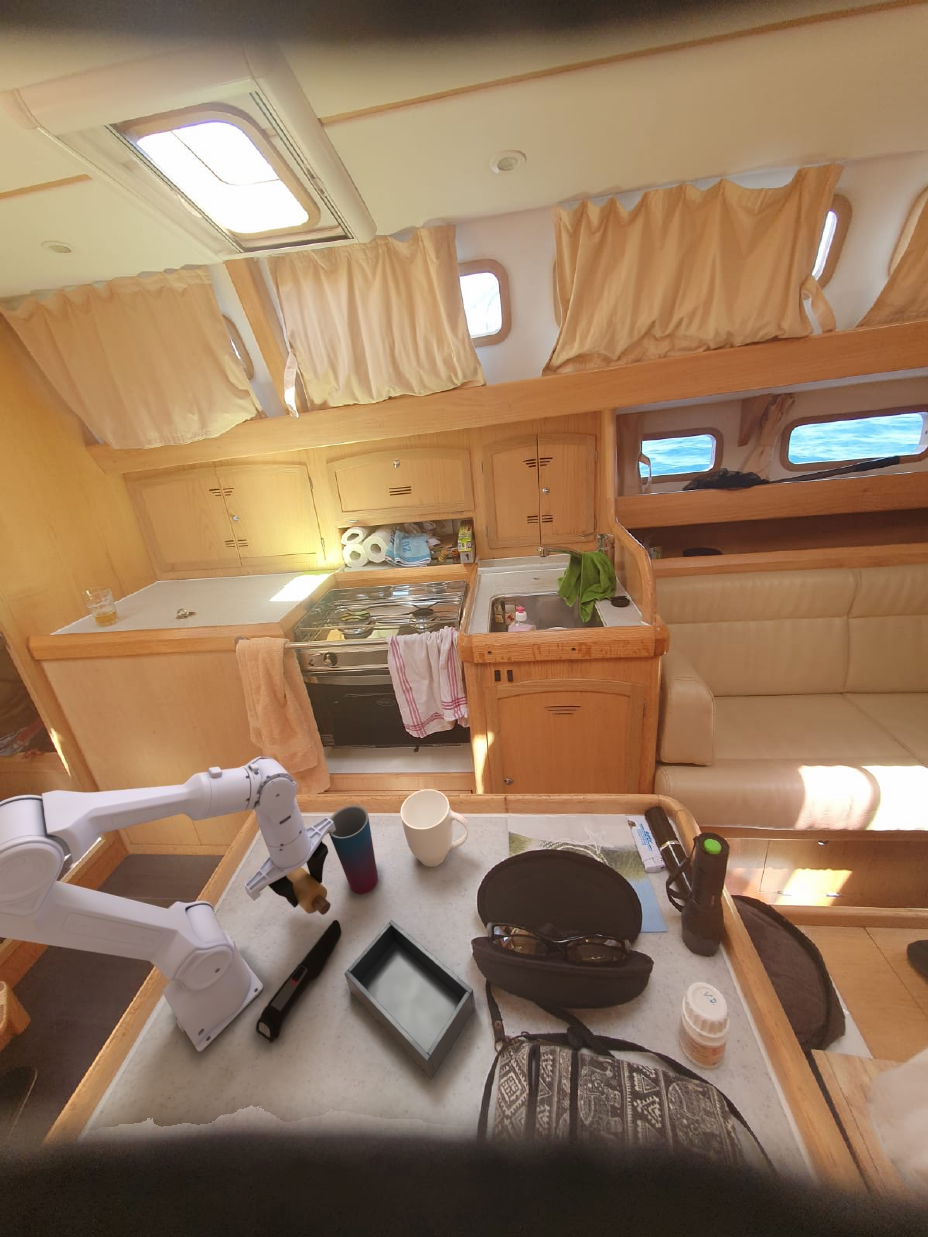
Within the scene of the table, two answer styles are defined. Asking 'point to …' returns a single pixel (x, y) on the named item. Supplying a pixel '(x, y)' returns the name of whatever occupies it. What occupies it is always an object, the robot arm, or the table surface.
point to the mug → (430, 826)
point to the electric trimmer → (297, 983)
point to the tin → (411, 996)
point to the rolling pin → (309, 892)
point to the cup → (355, 847)
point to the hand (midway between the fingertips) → (305, 891)
